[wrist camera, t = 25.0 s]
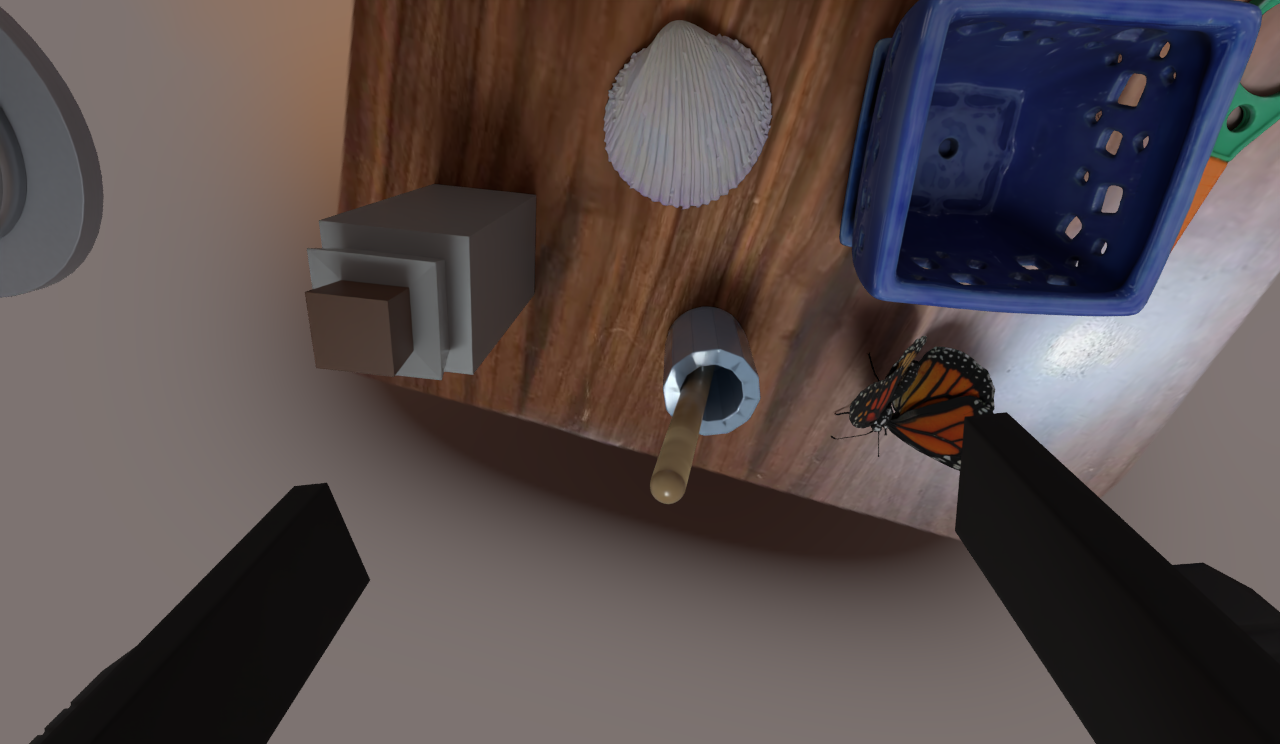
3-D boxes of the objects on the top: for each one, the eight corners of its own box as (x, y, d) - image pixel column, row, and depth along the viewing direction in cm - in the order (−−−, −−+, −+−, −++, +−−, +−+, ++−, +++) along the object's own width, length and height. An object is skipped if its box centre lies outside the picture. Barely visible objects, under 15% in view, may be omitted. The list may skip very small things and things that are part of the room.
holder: (654, 363, 43) (650, 416, 35) (684, 294, 40) (686, 335, 33) (725, 390, 43) (735, 447, 36) (758, 323, 41) (776, 370, 34)
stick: (692, 353, 42) (641, 501, 26) (701, 334, 41) (654, 474, 25) (713, 363, 42) (674, 516, 26) (722, 344, 41) (689, 490, 25)
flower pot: (1089, 29, 33) (1293, -9, 22) (1016, 263, 38) (1150, 325, 27) (849, 18, 33) (933, -24, 22) (811, 251, 39) (863, 308, 28)
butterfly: (775, 407, 44) (801, 486, 35) (843, 291, 40) (893, 345, 31) (917, 465, 45) (978, 556, 36) (997, 358, 41) (1088, 429, 32)
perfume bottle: (534, 294, 41) (438, 419, 25) (438, 283, 41) (280, 401, 25) (536, 194, 38) (430, 261, 22) (433, 183, 38) (251, 241, 22)
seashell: (772, -14, 30) (791, 186, 32) (759, 25, 36) (775, 195, 38) (578, 22, 31) (607, 215, 33) (593, 56, 37) (617, 220, 38)
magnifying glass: (1262, -37, 31) (1293, -44, 30) (1363, -1, 32) (1398, -7, 30) (1093, 238, 37) (1110, 244, 36) (1178, 266, 38) (1200, 273, 36)
